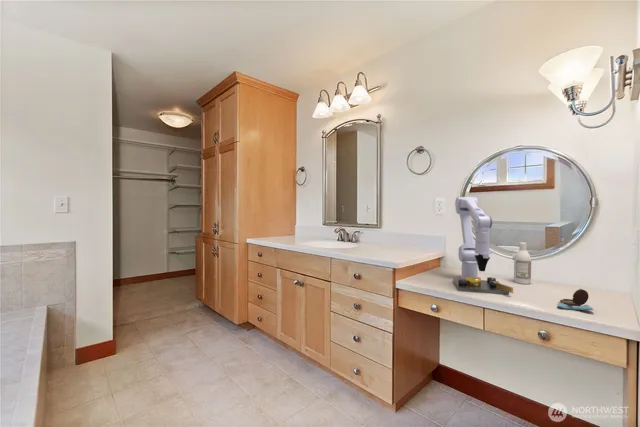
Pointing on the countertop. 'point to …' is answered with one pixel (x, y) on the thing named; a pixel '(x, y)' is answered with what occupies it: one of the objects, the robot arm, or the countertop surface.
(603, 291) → the countertop surface
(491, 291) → the plate
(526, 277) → the bath foam
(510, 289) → the wooden stick
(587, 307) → the bow tie
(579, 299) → the compass
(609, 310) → the countertop surface
